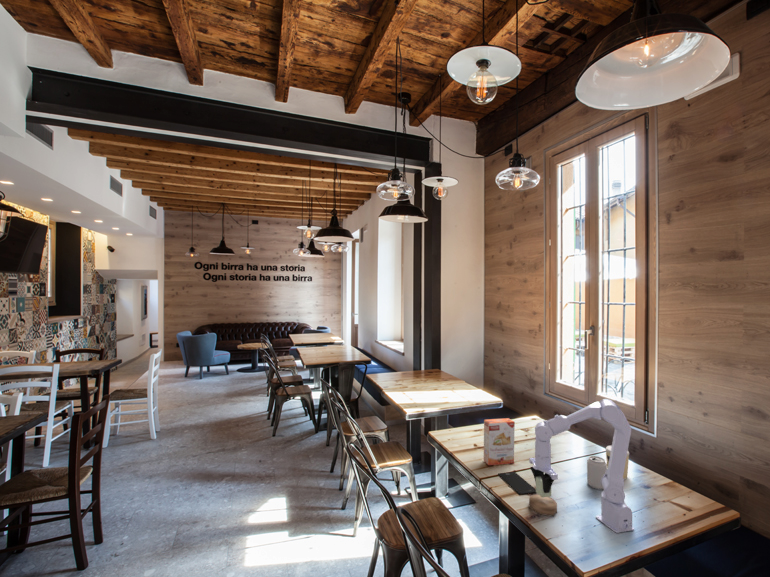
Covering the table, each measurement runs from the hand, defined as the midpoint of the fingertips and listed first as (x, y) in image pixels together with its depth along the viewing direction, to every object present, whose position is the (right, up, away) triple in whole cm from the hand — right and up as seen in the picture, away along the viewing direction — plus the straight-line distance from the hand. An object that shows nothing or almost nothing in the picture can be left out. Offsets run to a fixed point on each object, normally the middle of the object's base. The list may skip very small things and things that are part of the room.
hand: (542, 489), depth 144 cm
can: (+31, -8, +17) cm, 36 cm away
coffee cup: (+46, -8, +26) cm, 54 cm away
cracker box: (-5, -8, +39) cm, 40 cm away
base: (0, -7, 0) cm, 7 cm away
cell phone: (-3, -8, +19) cm, 21 cm away
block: (0, -2, 0) cm, 2 cm away
